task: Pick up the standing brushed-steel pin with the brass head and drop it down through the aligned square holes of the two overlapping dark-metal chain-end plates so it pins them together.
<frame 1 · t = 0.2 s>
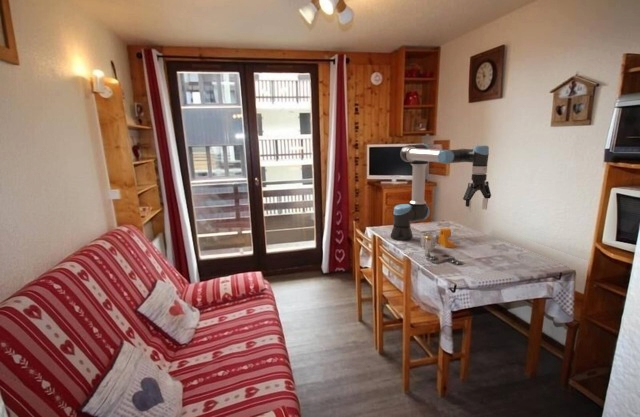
hand: (476, 210, 184), 28 cm above the table, fingers open, 13 cm apart
chain end a: (445, 260, 185), on the table
mug: (426, 250, 202), on the table
bracket: (446, 246, 208), on the table
chain end b: (445, 258, 184), resting on chain end a
pin: (427, 257, 189), on the table
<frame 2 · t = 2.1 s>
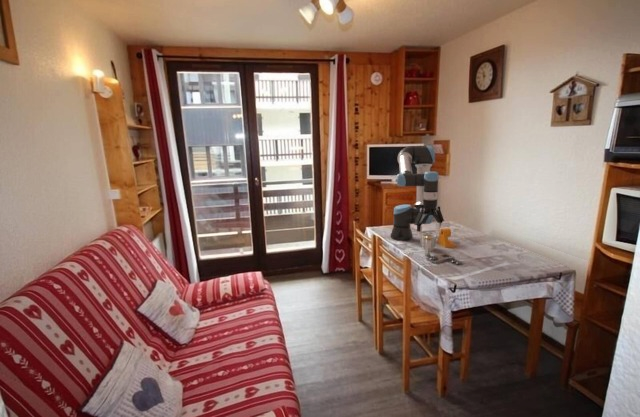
hand: (428, 235, 186), 14 cm above the table, fingers open, 13 cm apart
nothing on the table moved.
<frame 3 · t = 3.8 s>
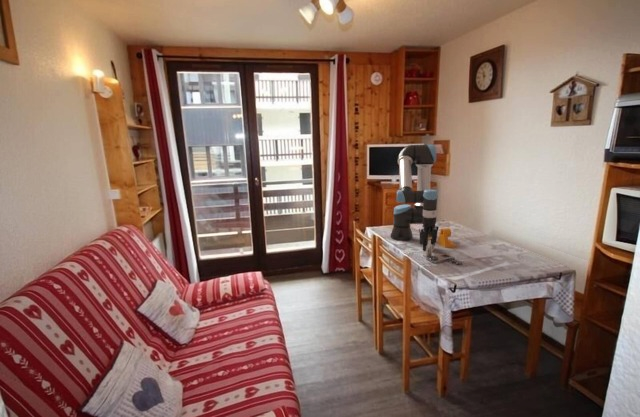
hand: (427, 255, 189), 2 cm above the table, fingers closed on pin, 3 cm apart
pin: (427, 257, 189), on the table, touching gripper
everything else where it was.
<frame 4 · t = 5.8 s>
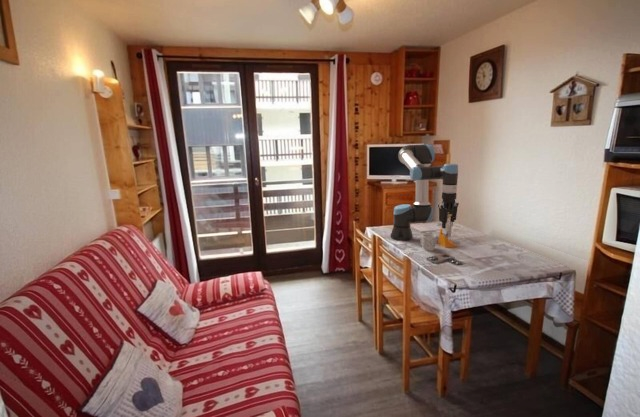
hand: (446, 233, 181), 16 cm above the table, fingers closed on pin, 3 cm apart
pin: (446, 236, 181), point 15 cm above the table, touching gripper
everything else where it was.
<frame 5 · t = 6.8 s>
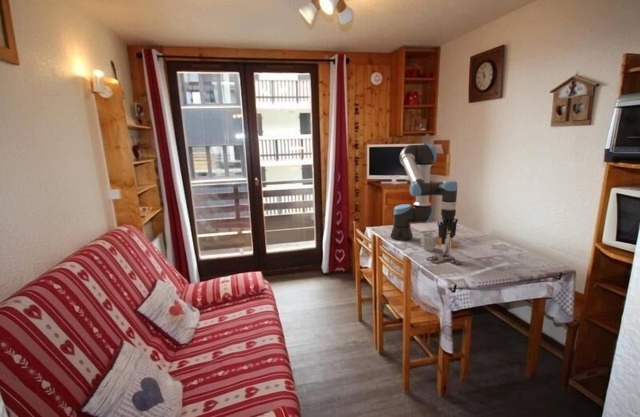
hand: (446, 248, 183), 7 cm above the table, fingers closed on pin, 3 cm apart
pin: (446, 252, 183), point 5 cm above the table, touching gripper
everything else where it was.
when the fingers open (4 cm above the table, at t = 7.7 s): pin stays where it is, resting in chain end a.
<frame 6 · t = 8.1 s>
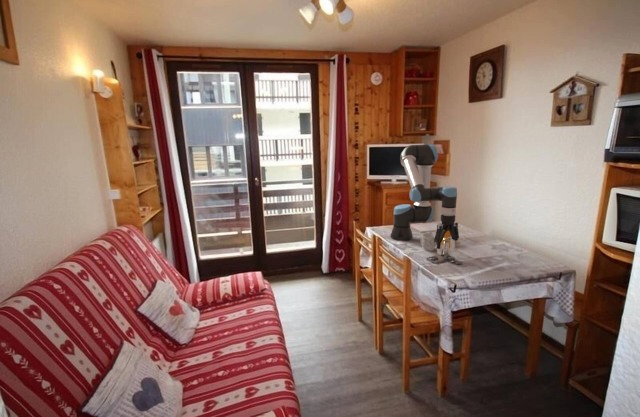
hand: (445, 252, 184), 5 cm above the table, fingers open, 9 cm apart
pin: (445, 260, 185), resting in chain end a
everything else where it was.
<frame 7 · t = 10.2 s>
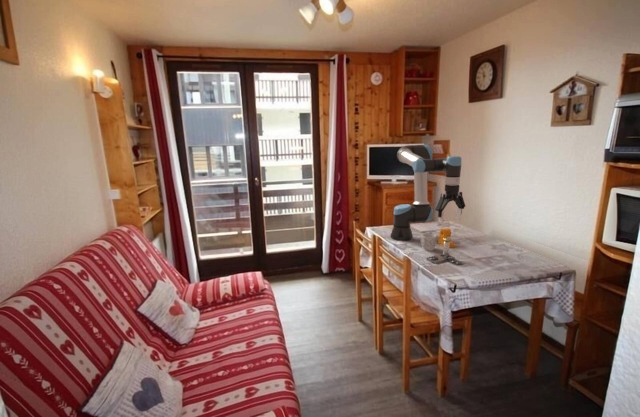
hand: (449, 221, 183), 22 cm above the table, fingers open, 13 cm apart
nothing on the table moved.
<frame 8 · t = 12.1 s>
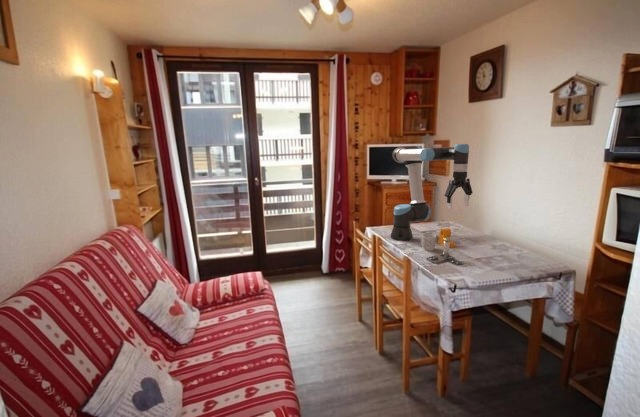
hand: (457, 207, 189), 29 cm above the table, fingers open, 13 cm apart
nothing on the table moved.
at the end: pin 0.1 cm from the target spot, resting in chain end a; pin tilted 0°; the gripper is holding nothing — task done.
